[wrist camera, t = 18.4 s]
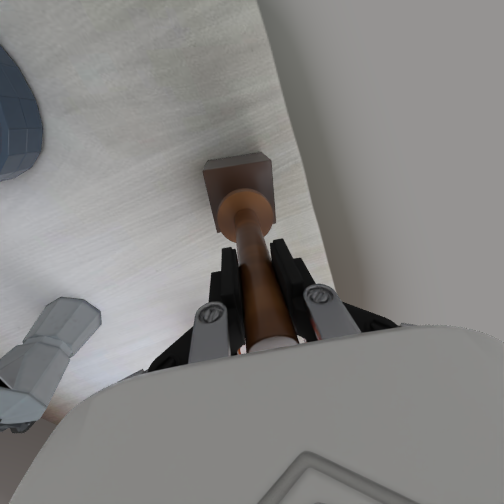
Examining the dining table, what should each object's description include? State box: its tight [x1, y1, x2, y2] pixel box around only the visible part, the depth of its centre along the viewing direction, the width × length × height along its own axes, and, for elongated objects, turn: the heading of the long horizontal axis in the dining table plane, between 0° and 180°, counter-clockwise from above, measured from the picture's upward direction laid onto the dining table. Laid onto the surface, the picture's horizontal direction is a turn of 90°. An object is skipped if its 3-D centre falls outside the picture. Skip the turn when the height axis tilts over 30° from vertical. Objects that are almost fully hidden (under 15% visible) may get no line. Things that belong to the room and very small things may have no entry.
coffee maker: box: [0, 297, 101, 433], centre depth 31 cm, size 15×9×18 cm, turn 164°
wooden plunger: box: [217, 188, 299, 353], centre depth 14 cm, size 5×5×14 cm
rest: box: [203, 152, 276, 233], centre depth 26 cm, size 7×7×7 cm
